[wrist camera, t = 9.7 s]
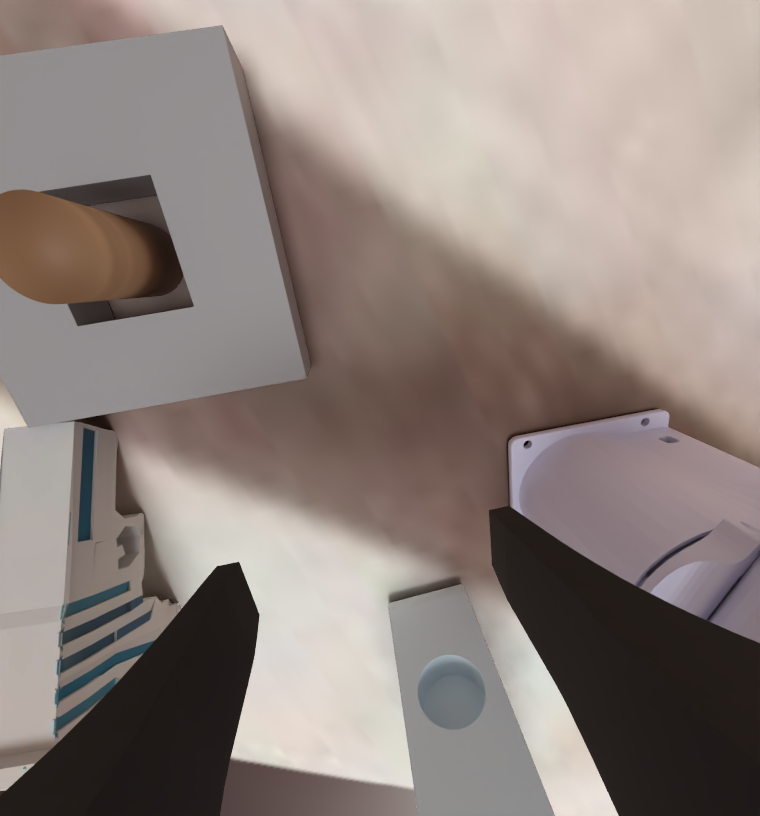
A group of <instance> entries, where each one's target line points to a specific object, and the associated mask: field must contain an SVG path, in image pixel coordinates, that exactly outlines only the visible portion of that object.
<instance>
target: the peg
mask: <svg viewBox="0 0 760 816" xmlns="http://www.w3.org/2000/svg"><path fill="white" fill-rule="evenodd" d="M182 276H183V272H182V268H181V265H180V262H179V259H178V256H177V253H176V250H175V247H174V244H173V241H172V238H171V237H170V236H169V235H168V234H167V233H165V232H164V231H163V230H161V229H159V228H158V227H155V226H153V225H150V224H147V223H143V222H140V221H136V220H133V219H129V218H126V217H123V216H119V215H116V214H112V213H109V212H105V211H102V210H99V209H95V208H92V207H88V206H85V205H82V204H78V203H75V202H71V201H68V200H64V199H61V198H58V197H54V196H51V195H47V194H44V193H40V192H36V191H33V190H25V189H22V190H11V191H7V192H4V193H1V194H0V278H1V279H2V280H3V281H4V282H5V283H6V284H7V285H8V286H9V287H10V288H12V289H13V290H15V291H16V292H18V293H19V294H21V295H23V296H25V297H27V298H29V299H32V300H34V301H37V302H41V303H46V304H69V303H81V302H93V301H105V300H117V299H128V298H140V297H152V296H161V295H165V294H167V293H170V292H171V291H173V290H174V289H175V288H176V287H177V286H178V284H179V283H180V281H181V279H182Z"/></svg>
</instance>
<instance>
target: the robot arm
mask: <svg viewBox="0 0 760 816" xmlns="http://www.w3.org/2000/svg"><path fill="white" fill-rule="evenodd" d="M643 419H644V421H643V422H642V423H641V421H642V420H643ZM668 423H669V413H668V412H667V411H664V410H662V409H656V410H650V411H645V412H640V413H635V414H629V415H624V416H619V417H613V418H608V419H603V420H598V421H592V422H587V423H582V424H577V425H571V426H566V427H561V428H555V429H550V430H545V431H540V432H534V433H529V434H524V435H519V436H515V437H513V438H511V439H510V441H509V443H508V458H509V488H510V506H507V507H502V508H498V509H493V510H489V517H490V535H491V553H492V566H493V568H494V570H495V573H496V575H497V577H498V580H499V582H500V584H501V587H502V589H503V591H504V593H505V595H506V598H507V600H508V602H509V603H510V605H511V607H512V609H513V611H514V612H515V614H516V616H517V618H518V619H519V621H520V623H521V625H522V626H523V628H524V630H525V631H526V633H527V635H528V637H529V638H530V640H531V642H532V644H533V645H534V647H535V649H536V650H537V652H538V654H539V656H540V657H541V659H542V661H543V663H544V664H545V666H546V668H547V670H548V671H549V673H550V675H551V676H552V678H553V680H554V682H555V683H556V685H557V687H558V689H559V691H560V693H561V695H562V696H563V698H564V700H565V702H566V704H567V706H568V708H569V710H570V712H571V714H572V716H573V718H574V721H575V723H576V725H577V727H578V729H579V731H580V733H581V735H582V737H583V739H584V742H585V744H586V746H587V748H588V750H589V752H590V754H591V756H592V758H593V761H594V763H595V765H596V767H597V769H598V771H599V774H600V776H601V778H602V780H603V782H604V784H605V787H606V789H607V791H608V793H609V795H610V797H611V800H612V802H613V804H614V806H615V808H616V811H617V813H618V815H619V816H760V468H759V467H757V466H754V465H752V464H750V463H748V462H745V461H743V460H741V459H739V458H736V457H734V456H732V455H730V454H728V453H725V452H723V451H721V450H719V449H716V448H714V447H712V446H710V445H707V444H705V443H703V442H701V441H699V440H696V439H694V438H692V437H690V436H687V435H685V434H683V433H681V432H678V431H676V430H674V429H672V428H669V427H668ZM525 441H529V443H528V444H527V445H525V446H523V445H524V443H525ZM258 623H259V613H258V610H257V607H256V605H255V602H254V600H253V597H252V594H251V592H250V589H249V587H248V584H247V581H246V579H245V576H244V574H243V571H242V568H241V566H240V563H239V562H236V563H231V564H227V565H222V566H217V567H216V568H215V569H214V571H213V572H212V573H211V574H210V575H209V576H208V578H207V579H206V580H205V581H204V582H203V584H202V585H201V586H200V587H199V588H198V590H197V591H196V592H195V593H194V595H193V596H192V597H191V598H190V599H189V601H188V602H187V603H186V604H185V606H184V607H183V608H182V609H181V610H180V612H179V613H178V614H177V615H176V616H175V617H174V619H173V620H172V621H171V622H170V623H169V625H168V626H167V627H166V628H165V629H164V631H163V632H162V633H161V634H160V635H159V637H158V638H157V639H156V640H155V641H154V642H153V643H152V644H151V646H150V647H149V648H148V649H147V650H146V651H145V652H144V653H143V655H142V656H141V657H140V658H139V659H138V660H137V661H136V662H135V663H134V665H133V666H132V667H131V668H130V669H129V670H128V671H127V672H126V673H125V675H124V676H123V677H122V678H121V679H120V680H119V681H118V682H117V683H116V685H115V686H114V687H113V688H112V689H111V690H110V691H109V692H108V693H107V694H106V695H105V696H104V697H103V698H102V699H101V700H100V701H99V702H98V703H97V704H96V705H95V706H94V707H93V708H92V709H91V710H90V711H89V712H88V713H87V714H86V715H85V716H84V717H83V718H82V719H81V720H80V721H79V722H78V723H77V724H76V725H75V726H74V727H73V728H72V729H71V730H70V731H69V732H68V733H67V734H66V735H65V736H64V737H63V738H62V739H61V740H60V741H59V742H58V743H57V744H56V745H55V746H54V747H53V748H52V749H51V750H50V751H48V752H47V753H46V754H45V755H44V756H43V757H42V758H41V759H40V760H39V761H38V762H36V763H35V764H34V765H33V766H32V767H31V768H30V769H29V770H28V771H27V772H26V773H24V774H23V775H22V776H21V777H20V778H19V779H18V780H17V781H16V782H15V783H14V784H12V785H11V786H10V787H9V788H8V789H7V790H6V791H5V792H4V793H3V794H2V795H0V816H220V811H221V804H222V798H223V791H224V786H225V781H226V776H227V771H228V766H229V761H230V757H231V753H232V749H233V745H234V740H235V736H236V732H237V728H238V724H239V719H240V715H241V711H242V707H243V703H244V699H245V694H246V690H247V686H248V682H249V677H250V673H251V669H252V664H253V660H254V655H255V648H256V641H257V632H258Z"/></svg>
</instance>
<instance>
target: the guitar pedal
mask: <svg viewBox="0 0 760 816" xmlns="http://www.w3.org/2000/svg"><path fill="white" fill-rule="evenodd" d="M388 606H389V615H390V622H391V629H392V636H393V643H394V650H395V657H396V664H397V671H398V678H399V685H400V692H401V699H402V707H403V714H404V721H405V728H406V735H407V742H408V749H409V756H410V763H411V770H412V777H413V784H414V791H415V798H416V805H417V812H418V816H555V815H554V812H553V810H552V807H551V805H550V802H549V800H548V797H547V795H546V792H545V789H544V787H543V784H542V782H541V779H540V777H539V774H538V772H537V769H536V767H535V764H534V762H533V759H532V757H531V754H530V752H529V749H528V747H527V744H526V742H525V739H524V737H523V734H522V732H521V729H520V727H519V724H518V722H517V719H516V717H515V714H514V712H513V709H512V707H511V704H510V702H509V699H508V697H507V694H506V692H505V689H504V687H503V684H502V681H501V679H500V676H499V674H498V671H497V669H496V666H495V664H494V661H493V659H492V656H491V654H490V651H489V649H488V646H487V644H486V641H485V639H484V636H483V634H482V631H481V629H480V626H479V624H478V621H477V619H476V616H475V614H474V611H473V609H472V606H471V604H470V601H469V599H468V596H467V594H466V591H465V589H464V587H463V585H462V584H459V585H455V586H451V587H448V588H444V589H440V590H436V591H433V592H429V593H425V594H421V595H417V596H414V597H410V598H406V599H402V600H399V601H395V602H391V603H389V604H388Z"/></svg>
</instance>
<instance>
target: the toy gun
mask: <svg viewBox="0 0 760 816" xmlns="http://www.w3.org/2000/svg"><path fill="white" fill-rule="evenodd" d="M117 447H118V439H117V436H116V434H115V431H113V430H106V429H103V428H99V427H96V426H92V425H89V424H85V423H81V422H76V421H72V422H60V423H54V424H49V425H43V426H37V427H32V428H28V426H27V427H17V428H8V429H4V437H3V447H2V457H1V467H0V791H3V790H7V789H8V788H9V787H10V786H11V785H12V784H14V783H15V782H16V781H17V780H18V779H19V778H20V777H21V776H22V775H23V774H24V773H26V772H27V771H28V770H29V769H30V768H31V767H32V766H33V765H34V764H35V763H36V762H38V761H39V760H40V759H41V758H42V757H43V756H44V755H45V754H46V753H47V752H48V751H50V750H51V749H52V748H53V747H54V746H55V745H56V744H57V743H58V742H59V741H60V740H61V739H62V738H63V737H64V736H65V735H66V734H67V733H68V732H69V731H70V730H71V729H72V728H73V727H74V726H75V725H76V724H77V723H78V722H79V721H80V720H81V719H82V718H83V717H84V716H85V715H86V714H87V713H88V712H89V711H90V710H91V709H92V708H93V707H94V706H95V705H96V704H97V703H98V702H99V701H100V700H101V699H102V698H103V697H104V696H105V695H106V694H107V693H108V692H109V691H110V690H111V689H112V688H113V687H114V686H115V685H116V683H117V682H118V681H119V680H120V679H121V678H122V677H123V676H124V675H125V673H126V672H127V671H128V670H129V669H130V668H131V667H132V666H133V665H134V663H135V662H136V661H137V660H138V659H139V658H140V657H141V656H142V655H143V653H144V652H145V651H146V650H147V649H148V648H149V647H150V646H151V644H152V643H153V642H154V641H155V640H156V639H157V638H158V637H159V635H160V634H161V633H162V632H163V631H164V629H165V628H166V627H167V626H168V625H169V623H170V622H171V621H172V620H173V619H174V617H175V616H176V615H177V614H178V613H179V612H180V610H181V608H180V605H178V606H177V604H176V603H170V601H169V599H166V600H159V599H158V598H157V597H156V596H154V597H147V598H143V591H142V583H141V582H142V580H143V577H144V568H145V542H144V515H143V513H137V514H129V515H120V514H119V513H118V512H117V511H116V510H115V499H116V462H117ZM177 603H178V602H177Z"/></svg>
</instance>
